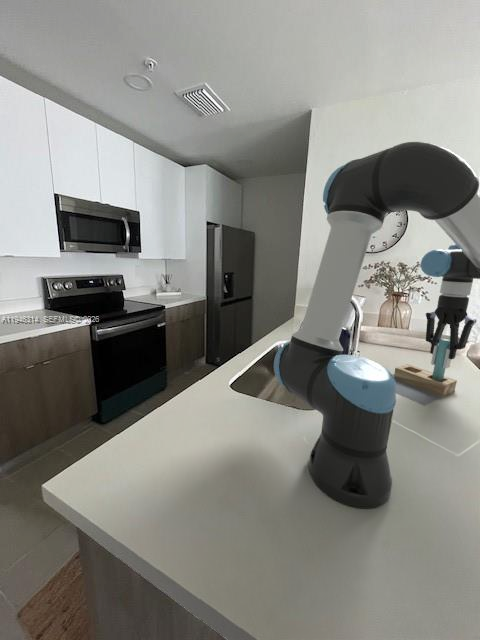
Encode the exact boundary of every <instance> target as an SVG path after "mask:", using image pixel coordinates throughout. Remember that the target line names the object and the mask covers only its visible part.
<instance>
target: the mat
mask: <svg viewBox="0 0 480 640" xmlns="http://www.w3.org/2000/svg"><path fill="white" fill-rule="evenodd" d="M392 375H393V377H394V373H392ZM394 380H395V382H396V395H399V396H402V397H404V398H407V399H408V400H411V401H412V402H415V403H417V404H420V405H423V406H426V405H427V406H428V405H429V404H431V403H433V402H435V401H437V400H440V399H441V398H443V397H441V396H439V395H436V394H434V393H431V392H428V391H426V390H423V389H421V388H418V387H416V386H413V385H411V384H408V383H406V382H403V381H400V380H398V379H395V378H394ZM451 394H452V393H450V394H448V395H447V396H449V395H451Z"/></svg>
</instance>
